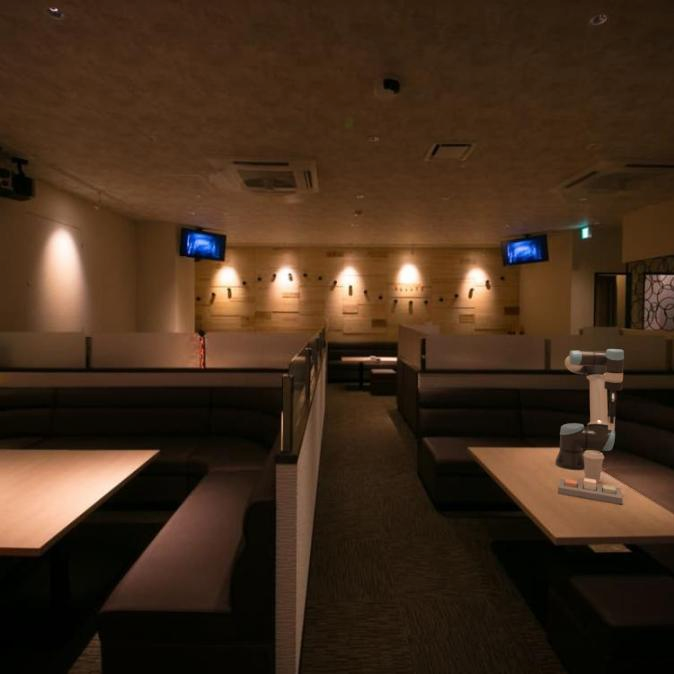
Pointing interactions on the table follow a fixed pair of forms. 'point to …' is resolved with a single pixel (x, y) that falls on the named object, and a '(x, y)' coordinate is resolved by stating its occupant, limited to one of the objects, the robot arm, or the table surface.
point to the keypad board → (590, 492)
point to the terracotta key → (571, 483)
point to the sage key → (609, 489)
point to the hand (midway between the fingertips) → (611, 429)
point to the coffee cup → (593, 464)
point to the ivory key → (589, 484)
